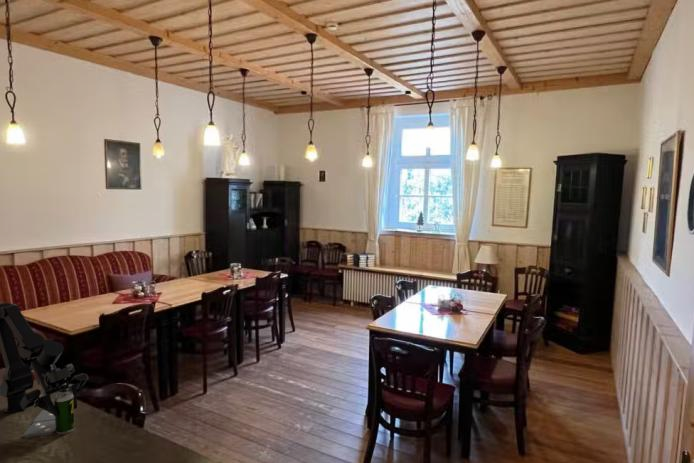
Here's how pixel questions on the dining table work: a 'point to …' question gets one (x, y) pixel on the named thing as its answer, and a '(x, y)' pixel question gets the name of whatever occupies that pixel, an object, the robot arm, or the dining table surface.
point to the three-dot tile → (40, 429)
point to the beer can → (64, 412)
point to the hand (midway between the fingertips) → (67, 411)
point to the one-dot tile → (44, 416)
